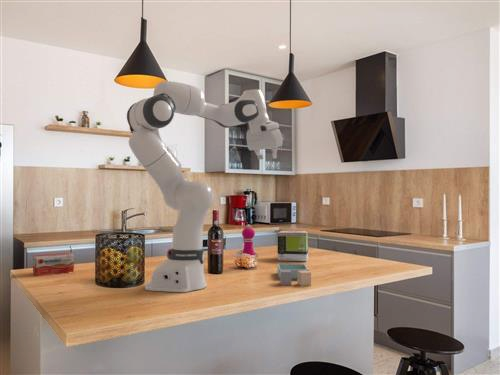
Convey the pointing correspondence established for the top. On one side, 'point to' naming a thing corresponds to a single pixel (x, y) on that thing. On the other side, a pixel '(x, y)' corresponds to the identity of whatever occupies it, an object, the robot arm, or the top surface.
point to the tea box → (292, 245)
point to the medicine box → (53, 264)
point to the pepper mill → (248, 240)
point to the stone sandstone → (304, 278)
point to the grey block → (285, 277)
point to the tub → (292, 269)
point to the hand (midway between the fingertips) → (267, 158)
